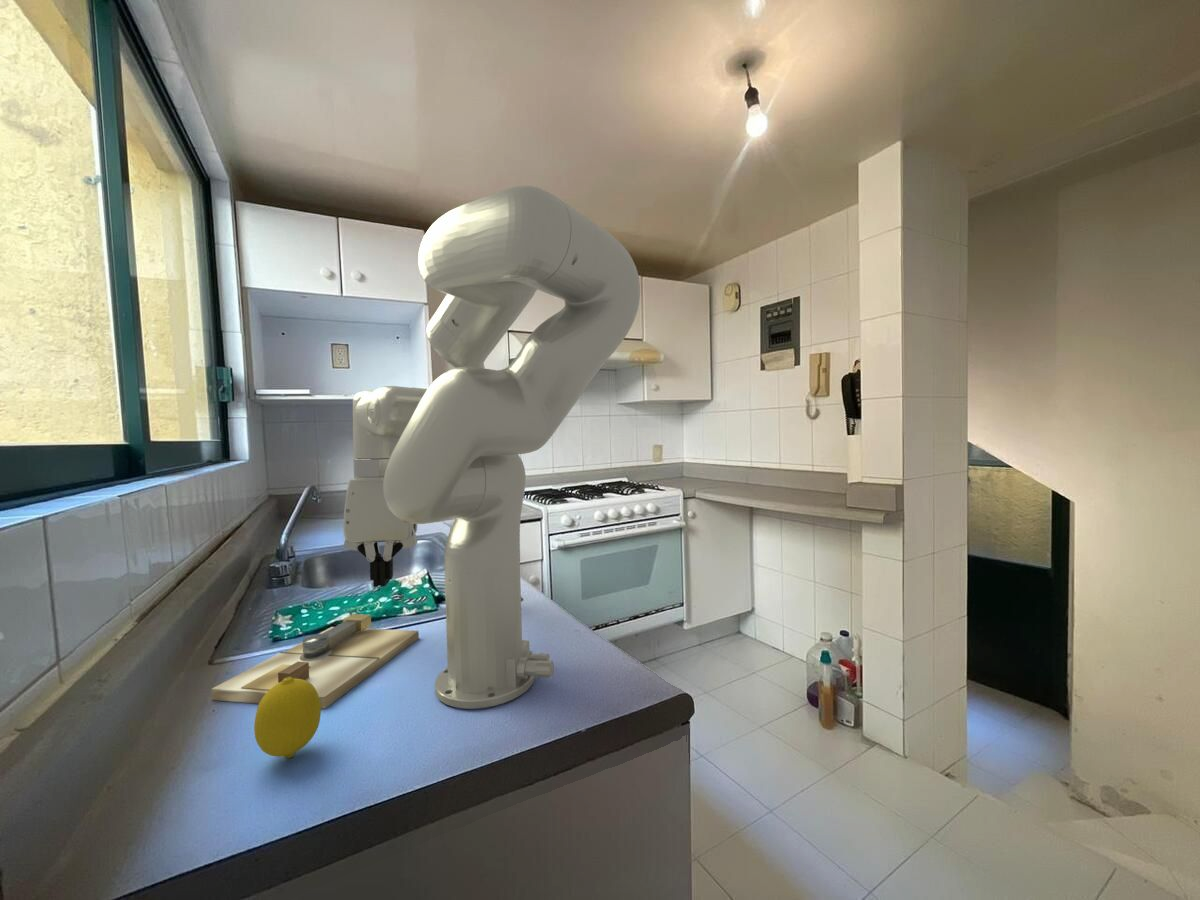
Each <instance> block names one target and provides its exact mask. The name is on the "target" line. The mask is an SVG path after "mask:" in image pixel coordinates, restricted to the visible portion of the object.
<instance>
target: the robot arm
mask: <svg viewBox="0 0 1200 900" xmlns="http://www.w3.org/2000/svg"><path fill="white" fill-rule="evenodd" d="M417 254H418V256H417V263H418V269H419V273H420V275H421V278H422V279H423V281H424V282H425V283H426V284H427V285H428V286H429V287H430V288H432V289H433V290H435V291H437V292H440V293H442V294H446V295H445V297H444V298H443V300H442V302H441V303H440V305H439V306H438V307H437V309H436V311H435V312H434V314H433V315H432V316H431V318H430V320H429V321H428V322H427V325H426V328H425V329H426V330H425V331H426V336H427V339H428V341H429V344H430V345H431V347H432V348H433V349H434V351H435V352H436V353H437V354H438V355H439V356H440V357H441V358H442V359H443V360H444V361H446V362H447V363H448V364H449V365H452V367H454V368H451V369H449V370H447V371H445V372H443V373H442V374H440V375H439V376H438V377H436V378H435V379H434V380H433V381H432V382H431V383H430V385H428V387H427V388H421V387H409V386H396V385H386V386H380V387H378V388H375V389H374V390H363V391H360V392H357V393H355V395H354V396H353V399H352V443H353V444H352V445H353V446H352V449H353V450H352V451H353V453H352V454H353V456H352V458H353V478H349V480H348V483H347V489H346V493H345V494H346V495H345V500H344V502H345V503H344V510H343V511H344V512H343V525H342V526H343V527H342V528H343V538H344V543H343V548H344V549H345V550H351V551H355V552H356V551H357V552H359V553H361V554H362V555H363V556H364V558H365V559H366V561H367V562H368V563H369V580H370V581H373V582H372V583H373V588H378V587H382V588H384V587H386V586H387V585H388V584H389V582H390V580H392V579H393V578H394V557H395V556H397V553H399V552H400V551H401V550H404V549H409V548H412V547H415V546H416V544H417V543H418V539H417V538H418V537H417V534H416V533H417V531H418V525H424V524H433V523H439V522H445V521H446V522H447V521H451V520H453V521H454V522H452V523H453V525H452V528H451V530H450V529H449V532H450V533H449V532H448V536H447V538H446V543H445V547H444V548H445V549H444V589H445V590H444V591H445V593H444V595H445V596H444V597H445V620H446V621H445V626H446V627H445V628H446V629H445V631H446V632H445V633H446V658H447V659H446V661H447V666H446V667H445V668H444V669H443V670H442V671H441V672H440V673H438V674H437V677H436V679H435V683H434V691H435V692H434V693H435V695H436V698H437V699H438V700H439V701H440V702H442V703H443V704H445V705H447V706H450V707H453V708H458V709H465V710H467V709H469V710H475V709H477V710H478V709H485V708H490V707H491V708H492V707H496V706H499V705H503V704H506V703H508V702H510V701H512V700H514V699H516V698H518V697H520V696H522V695H523V694H524V693H526V692H527V691H529V689H530V687H532V685H533V683H534V682H535V680H536V677H537V678H545V679H546V678H548V679H551V678H552V677H553V675H554V669H555V668H554V666H555V664H554V661H553V660H550V654H549V653H545V652H544V653H541V652H540V653H533V650H530V640H527V639H525V640H524V639H523V627H522V626H523V624H522V622H523V621H522V592H521V590H522V589H521V586H522V585H521V544H520V543H521V539H520V538H521V517H522V510H523V509H522V508H523V502H524V496H525V492H526V490H525V489H526V482H527V481H526V469H525V465H524V462H523V460H522V458H521V457H520V455H526V454H529V453H533V452H536V451H538V450H540V449H541V448H543V447H544V446H545V445H546V444H547V442H549V440H550V439H551V437H552V436H553V435H554V433H555V432H556V431H557V429H558V428H559V426H560V425H561V424H562V422H563V421H564V420H565V418H566V417H567V416H568V414H569V413H570V411H571V410H572V408H573V407H574V406H575V405H576V403H577V402H578V400H579V399H580V397H581V396H582V395H583V393H584V391H585V390H586V389H587V387H588V386H589V384H590V382H591V381H592V380H593V378H595V376H596V374H597V373H598V372H599V371H600V370H601V368H602V367H603V366H604V365H605V363H606V362H607V361H608V359H610V357H611V356H612V355H613V354H614V353H615V352H616V350H617V349H618V348H619V346H620V345H621V344H622V342H623V341H624V340H625V338H626V337H627V335H628V334H629V332H630V330H631V328H632V326H633V324H634V322H635V319H636V317H637V315H638V314H637V313H638V310H639V305H640V300H641V299H640V298H641V283H640V277H639V274H638V273H639V272H638V269H637V266H636V264H635V262H634V260H633V258H632V256H631V255H630V253H629V251H628V250H627V249H626V248H625V246H624V245H623V244H622V243H621V242H620V241H619V240H618V239H617V238H616V237H615V236H614V235H613V234H612V233H610V232H609V231H607V230H606V229H604V228H603V227H602V226H601V225H599V224H598V223H596V222H595V221H593V220H591V219H590V218H588V217H587V216H585V215H584V214H582V213H581V212H579V211H578V210H576V209H575V208H573V207H572V206H570V205H569V204H568V203H566V202H565V201H563V200H562V199H561V198H560V197H558V196H555V194H552V193H551V192H549V191H547V190H545V189H542V188H539V187H537V186H532V185H521V186H513V187H510V188H506V189H503V190H500V191H497V192H494V193H492V194H489V195H487V196H484V197H480V198H478V199H475V200H472V201H469V202H467V203H464V204H462V205H459V206H457V207H454V208H453V209H451V210H449V211H447V212H446V213H444V214H442V215H441V216H440V217H438V218H437V219H436V220H435V221H434V222H432V224H431V225H430V227H429V228H428V229H427V231H426V232H425V233H424V235H423V238H422V240H421V242H420V246H419V249H418V253H417ZM537 290H538V291H540V292H544V293H545V294H548V295H550V296H552V297H553V296H554V297H556V298H558V299H561V300H563V301H564V307H563V308H562V309H561V310H558V312H556V313H555V314H553V315H552V316H550V317H548V318H547V319H546V320H544V321H543V322H542V323H540V324H539V325H538V326H537V327H536V328H535V329H534V330H533V331H532V332H531V334H530V335H528V337H527V338H526V340H525V342H523V343H524V344H523V345H522V347H521V348H520V350H519V352H518V354H517V355H516V357H514V359H513V360H512V361H511V363H510V364H509V365H508V366H507V367H505V368H503V369H499V370H496V369H490V368H485V361H486V360H487V359H488V358H489V355H490V354H492V352H493V350H494V349H495V348H496V346H497V345H498V344H499V343H500V341H501V340H502V339H503V337H504V336H505V334H507V332H508V331H509V329H510V328H511V327H512V325H513V324H514V322H515V321H516V320H517V319H518V317H519V316H520V315H521V313H523V311H524V309H526V307H527V305H528V304H529V303H530V301H531V300H532V299H533V298H534V297H535V294H536V292H537ZM379 543H384V550H383V554H381V551H380V546H379Z"/></svg>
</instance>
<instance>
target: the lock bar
mask: <svg viewBox="0 0 1200 900" xmlns="http://www.w3.org/2000/svg"><path fill="white" fill-rule="evenodd" d="M333 627H334V628H332V629H330V630H328V631H326V632H324V633H322V634H319V633H317V634H316V633H315V634H311V635H308V636H307V637H304V639H302V642H303V656H304V657H314V656H319V655H322V654H324V653H326V652H327V651H328V650H329V648H331V647H333V646H334V645H336V644H338V643H340V642H341V641H343V640H345V639H346V638H348V637H350V636H351V635H353V634H355V633H357V632H358V631H360V632H361V631H363V630H365V629H369V627H372V615H371V614H360V613H358V614H356V613H352V614H350V615H349V616H347V617H345V618H344V619H342V622H341V623H340V624H338V625H336V626H333Z"/></svg>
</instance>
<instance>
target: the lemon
mask: <svg viewBox="0 0 1200 900" xmlns="http://www.w3.org/2000/svg"><path fill="white" fill-rule="evenodd" d="M321 713H322V709H321V704H320V699H319V696H318V693H317V691H316V689H315V688H314V686H313V685H312V684H311V683H309V682H307V681H305V680H302V679H293V678H291V677H287V678H285V679H283V681H282V682H280V683H278V684H276V685H275V686H274V687H272V688H271V689H270V690H269V691H268V692H267V693H266V694H265V695H264V697H263V698H262V700H261V701H260V703H259V704H258V706H257V708H256V711H255V717H254V726H253V731H254V733H253V734H254V739H255V741H256V743H257V745H258V747H259V748H260V749H261V751H262V752H264V753H265V755H269V756H271V757H276V758H278V757H283V758H285V759H291V758H292V757H294V755H296V753H297V752H299V751H300V750H302V749H303V748H304V747H305V746H307V745H308V744H309V742H310V741H311V740H312V739H313V738H314V735H315V734H316V733H317V731H318V728H319V725H320V721H321V715H322V714H321Z"/></svg>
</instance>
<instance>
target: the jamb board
mask: <svg viewBox="0 0 1200 900" xmlns="http://www.w3.org/2000/svg"><path fill="white" fill-rule="evenodd" d="M334 627H335V626H330V627H329V628H327V629H325V630H323V631H320V632H319V633H318V634H322V633H324V632H326V631H328V630H330V629H332V628H334ZM419 634H420V633H419V630H408V629H407V630H404V629H382V628H366V629H365V630H363V631H361V632H360V631H358V632H357V633H355V634H353V635H351V636H350V637H348V638H346V639H345V640H343V641H341V642H340V643H338V644H336V645H334V646H333V647H331V648H329V650H328V651H327V652H326V653H324V654H322V655H319V656H314V657H304V656H303V641H302V642H300V643H299V644H296V645H294V646H293V647H291V648H288V649H287V650H285V651H280V652H279V653H277V654H275V655H273V656H271V657H269V658H267V659H265V660H264V661H262V662H260V663H257V664H256V665H253V666H252V667H251V668H248V669H246V670H244V671H243V672H241V673H239V674H237V675H235V676H233V677H231V678H229V679H227V680H225V681H224V682H221V683H220V684H218V685H216V686H214V687H212V688H211V700H212V701H222V702H232V703H233V702H234V703H245V704H246V703H247V704H258V705H259V703H260V701H261V700H262V698H263V697H264V695H265V694H266V693H267V692H268V691H269V690H270V689H271V688H272V687H274V686H275V685H276V684H278V683H280V682H282V681H283V679H285V678H287V677H291V678H293V679H302V680H305V681H307V682H309V683H311V684H312V685H313V686H314V688H315V689H316V691H317V693H318V696H319V699H320V704H321V710H325V709H326V708H328V707H330V706H331V705H332V704H333V703H334V702H336V701H337V700H338V699H340V698H341V697H343V695H345V694H347V693H348V692H349V691H351V689H353V688H354V687H356V686H357V685H358V684H360V683H362V681H364V680H365V679H366V678H368V677H370V676H371V675H372V674H373V673H375V672H376V671H378V670H379V669H380V668H381V667H383V666H384V665H385V664H386V663H387V662H389V661H390V660H392V659H394V657H396V656H397V655H398V654H400V653H401V652H403V651H404V650H405V649H406V648H408V647H409V646H411V644H413V643H414V642H415V641H417V640H418V639H419V637H420V635H419Z"/></svg>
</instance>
